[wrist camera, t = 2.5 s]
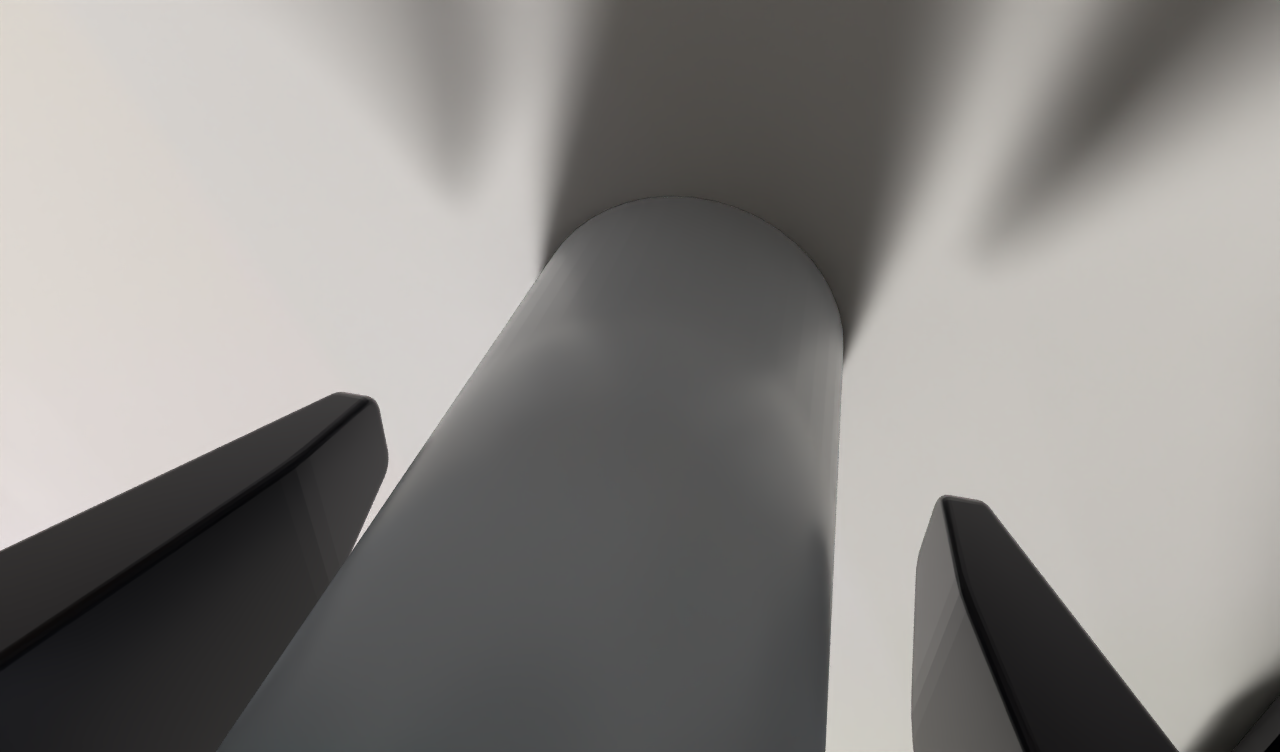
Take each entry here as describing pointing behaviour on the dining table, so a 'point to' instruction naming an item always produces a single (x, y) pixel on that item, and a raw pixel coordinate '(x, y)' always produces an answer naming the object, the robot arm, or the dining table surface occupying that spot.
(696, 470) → the marker
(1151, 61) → the dining table surface
